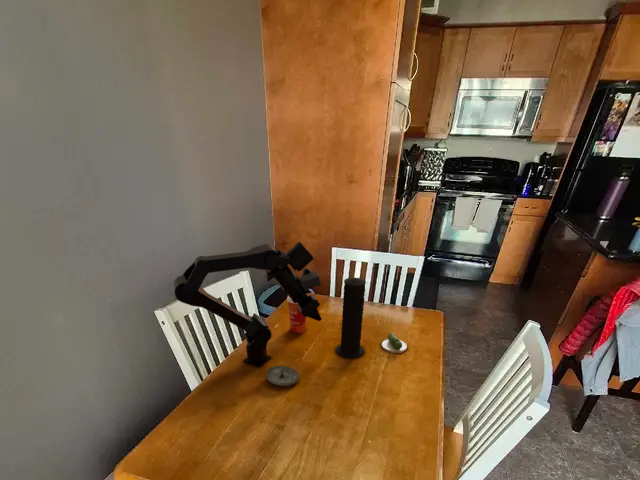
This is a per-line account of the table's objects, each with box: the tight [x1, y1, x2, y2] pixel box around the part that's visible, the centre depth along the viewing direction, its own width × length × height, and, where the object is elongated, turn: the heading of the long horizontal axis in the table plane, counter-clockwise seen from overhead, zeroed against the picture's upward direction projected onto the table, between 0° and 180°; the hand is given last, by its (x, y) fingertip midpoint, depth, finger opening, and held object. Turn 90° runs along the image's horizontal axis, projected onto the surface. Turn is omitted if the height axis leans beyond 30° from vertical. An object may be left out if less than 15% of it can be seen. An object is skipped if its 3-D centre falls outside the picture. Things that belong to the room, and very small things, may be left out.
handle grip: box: [335, 277, 367, 359], centre depth 122 cm, size 10×26×10 cm
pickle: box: [381, 332, 408, 354], centre depth 131 cm, size 9×9×4 cm
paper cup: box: [286, 295, 307, 334], centre depth 137 cm, size 8×8×14 cm
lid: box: [265, 365, 300, 387], centre depth 113 cm, size 11×10×5 cm
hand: (315, 314), depth 122 cm, fingers open, 9 cm apart
